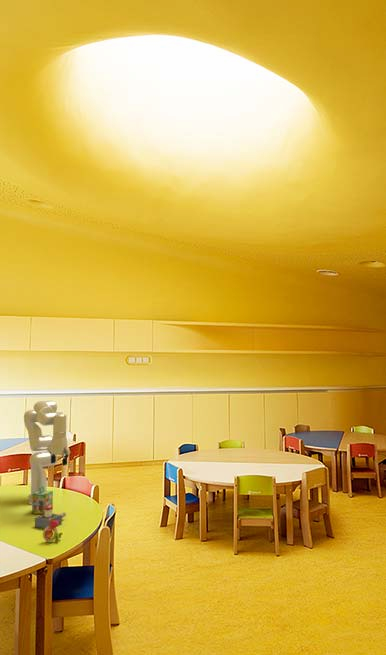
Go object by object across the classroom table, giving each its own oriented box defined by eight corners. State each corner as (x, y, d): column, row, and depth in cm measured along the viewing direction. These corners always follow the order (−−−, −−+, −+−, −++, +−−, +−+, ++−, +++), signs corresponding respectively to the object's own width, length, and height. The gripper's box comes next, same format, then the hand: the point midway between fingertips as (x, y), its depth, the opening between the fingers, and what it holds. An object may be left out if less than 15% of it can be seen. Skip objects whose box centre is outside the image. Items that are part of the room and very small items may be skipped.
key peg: (48, 523, 251) (48, 504, 252) (54, 525, 249) (54, 505, 250) (42, 526, 247) (42, 506, 248) (48, 527, 245) (48, 507, 246)
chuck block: (34, 527, 246) (34, 517, 247) (58, 518, 261) (58, 509, 261) (47, 530, 241) (47, 520, 242) (70, 520, 256) (70, 511, 257)
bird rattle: (46, 549, 221) (64, 540, 223) (37, 528, 221) (55, 519, 223) (48, 544, 227) (65, 535, 229) (39, 524, 227) (56, 515, 229)
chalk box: (45, 514, 267) (45, 489, 269) (31, 514, 269) (31, 488, 270) (53, 510, 276) (53, 485, 278) (39, 509, 278) (40, 484, 279)
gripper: (44, 434, 271) (43, 463, 270) (65, 437, 262) (64, 467, 261) (54, 432, 278) (53, 460, 277) (74, 435, 269) (74, 464, 268)
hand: (58, 463), depth 269 cm, fingers open, 9 cm apart
